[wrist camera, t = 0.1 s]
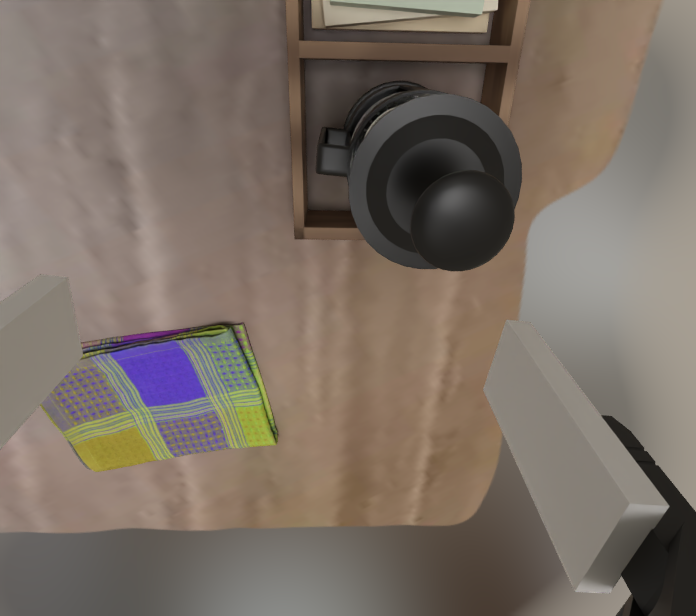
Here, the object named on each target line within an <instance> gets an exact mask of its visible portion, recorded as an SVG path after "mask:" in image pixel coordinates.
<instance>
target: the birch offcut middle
mask: <svg viewBox="0 0 696 616" xmlns="http://www.w3.org/2000/svg"><path fill="white" fill-rule="evenodd" d="M323 7H324V18H325V27H326V28H336V27H347V26H358V25H368V24H379V23H390V22H401V21H411V20H422V19H433V18H444V17H454V16H449V15H437V14H426V13H414V12H403V11H392V10H380V9H369V8H357V7H346V6H334V5H330V0H323ZM496 10H498V0H484V6H483V11H482V14H487V13H491V12H494V11H496Z"/></svg>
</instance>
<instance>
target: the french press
mask: <svg viewBox="0 0 696 616" xmlns="http://www.w3.org/2000/svg"><path fill="white" fill-rule="evenodd" d="M316 173H318V174H324V175H333V176H343V177H347V180H348V185H349V201H350V206H351V212H352V215H353V218H354V220H355V223H356V225H357V228H358V230H359V231H360V233H361V234H362V236H363V237H364V239H365V240H366V242H367V243H368V244H369V245H371V246H372V247H373V248H374V249H375V250H376V251H377V252H378V253H379V254H381V255H382V256H384V257H385V258H387V259H388V260H390V261H393V262H395V263H398V264H400V265H403V266H406V267H411V268H417V269H437V268H440V269H443V270H448V271H465V270H470V269H473V268H476V267H479V266H481V265H483V264H485V263H486V262H488V261H489V260H491V259H492V258H493V257H494V256H496V255H497V254H498V253H499V252H500V250H501V249H502V248H503V247H504V245H505V244H506V242H507V241H508V239H509V237H510V234H511V232H512V229H513V224H514V209H515V206H516V203H517V201H518V198H519V193H520V188H521V182H522V164H521V159H520V154H519V149H518V146H517V144H516V142H515V139H514V137H513V135H512V133H511V131H510V130H509V128H508V127H507V126H506V124H505V123H504V122H503V120H502V119H501V118H500V117H499V116H498V115H497V114H495V113H494V112H493V111H492V110H491V109H490V108H488V107H487V106H485V105H483V104H481V103H479V102H477V101H475V100H473V99H471V98H466V97H462V96H458V95H454V94H448V93H443V92H439V91H435V90H431V89H427V88H425V87H423V86H421V85H419V84H416V83H412V82H408V81H393V82H388V83H383V84H381V85H379V86H377V87H374V88H372V89H371V90H370V91H368V92H367V93H365V94H364V95H363V96H362V97H361V98H360V99H359V100H358V101H357V102H356V103H355V105H354V106H353V108H352V109H351V111H350V113H349V114H348V117H347V119H346V122H345V124H344V129H337V128H328V127H323V128H322V130H321V134H320V137H319V141H318V145H317V156H316Z"/></svg>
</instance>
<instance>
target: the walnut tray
mask: <svg viewBox="0 0 696 616" xmlns="http://www.w3.org/2000/svg"><path fill="white" fill-rule="evenodd" d="M529 6H530V0H498V10H496V11H494V17H493V24H492V30H491V37H490V44H489V45H455V44H414V43H374V42H333V41H304V25H303V0H286V26H287V52H288V79H289V105H290V131H291V157H292V183H293V210H294V236H295V239H322V240H365V239H364V237H363V236H362V234H361V233H360V231H359V230H358V228H357V225H356V223H355V220H354V218H353V215H352V212H351V211H319V210H308V200H307V156H306V113H305V69H304V59H314V60H357V61H400V62H442V63H485V64H486V71H485V78H484V85H483V92H482V99H481V104H483V105H485V106H487V107H488V108H490V109H491V110H492V111H493V112H494V113H495V114H497V115H498V116H499V117H500V118H501V119H502V120H503V122H504V123H505V124H506V126H507V127H508V124H509V119H510V113H511V108H512V102H513V96H514V91H515V85H516V79H517V74H518V68H519V62H520V57H521V51H522V45H523V40H524V34H525V28H526V23H527V17H528V11H529Z"/></svg>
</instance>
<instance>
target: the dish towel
mask: <svg viewBox="0 0 696 616" xmlns="http://www.w3.org/2000/svg"><path fill="white" fill-rule="evenodd" d="M81 347H82V352H83V357H82V358H81V359H80V360H79V361H78V362H77V363H76V365H75V366H74V367H73V368H72V369H71V370H70V371H69V373H68V374H67V375H66V376H65V377H64V378H63V379H62V380H61V382H60V383H59V384H58V385H57V386H56V387H55V388H54V389H53V391H52V392H51V393H50V394H49V395H48V396H47V397H46V399H45V400H44V401H43V402H42V403H41V404H40V406H41V407H42V409H43V410H44V411H45V413H46V414H47V416H48V418H49V419H50V420H51V422H52V423H53V424H54V425H55V426H56V428H57V429H58V430H59V431H60V432H61V433H62V434H63V436H64V438H65V439H66V440H67V441H68V443H69V444H70V446H71V448H72V450H73V452H74V453H75V455H76V456H77V457H78V459H79V460H80V462H81V463H82V464H83V465H84V466H85V467H86V468H87V469H91V470H93V471H95V472H100V471H106V470H111V469H117V468H122V467H127V466H132V465H137V464H142V463H145V462H150V461H158V460H164V459H169V458H174V457H180V456H183V455H189V454H196V453H204V452H212V451H218V450H225V449H232V448H245V447H255V446H270V445H277V442H278V437H277V430H276V428H275V423H274V419H273V414H272V411H271V407H270V403H269V400H268V397H267V393H266V390H265V387H264V384H263V380H262V377H261V374H260V371H259V368H258V365H257V362H256V359H255V357H254V354H253V351H252V348H251V345H250V342H249V338H248V335H247V331H246V329H245V325H244V323H241V324H235V325H218V326H204V327H195V328H188V329H181V330H171V331H162V332H160V331H159V332H150V333H143V334H136V335H128V336H120V337H112V338H107V339H101V340H96V341H90V342H83V343H81Z"/></svg>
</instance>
